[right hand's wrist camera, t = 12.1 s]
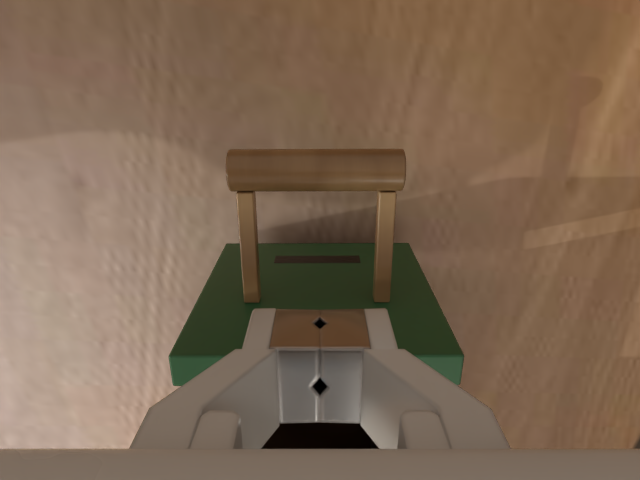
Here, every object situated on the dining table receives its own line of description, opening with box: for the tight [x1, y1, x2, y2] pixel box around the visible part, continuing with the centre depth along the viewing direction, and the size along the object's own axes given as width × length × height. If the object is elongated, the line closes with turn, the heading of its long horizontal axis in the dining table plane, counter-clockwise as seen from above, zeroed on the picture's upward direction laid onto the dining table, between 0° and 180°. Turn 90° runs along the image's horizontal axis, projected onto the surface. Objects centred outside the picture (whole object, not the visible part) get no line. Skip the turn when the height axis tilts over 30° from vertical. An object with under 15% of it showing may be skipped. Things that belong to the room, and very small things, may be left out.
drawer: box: [169, 149, 464, 449], centre depth 21 cm, size 25×9×10 cm, turn 0°
